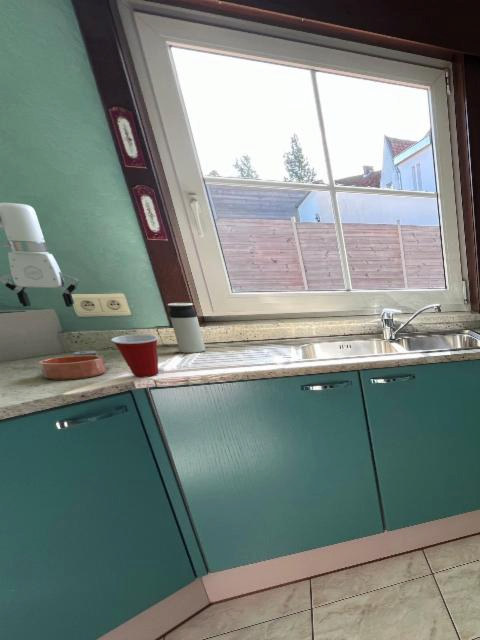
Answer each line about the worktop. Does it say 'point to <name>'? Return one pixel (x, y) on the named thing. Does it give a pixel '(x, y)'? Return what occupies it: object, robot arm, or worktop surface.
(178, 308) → the travel mug
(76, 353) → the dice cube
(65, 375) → the bowl
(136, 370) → the plastic cup
